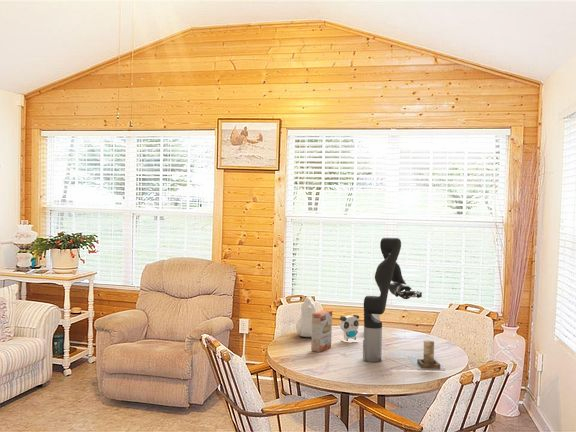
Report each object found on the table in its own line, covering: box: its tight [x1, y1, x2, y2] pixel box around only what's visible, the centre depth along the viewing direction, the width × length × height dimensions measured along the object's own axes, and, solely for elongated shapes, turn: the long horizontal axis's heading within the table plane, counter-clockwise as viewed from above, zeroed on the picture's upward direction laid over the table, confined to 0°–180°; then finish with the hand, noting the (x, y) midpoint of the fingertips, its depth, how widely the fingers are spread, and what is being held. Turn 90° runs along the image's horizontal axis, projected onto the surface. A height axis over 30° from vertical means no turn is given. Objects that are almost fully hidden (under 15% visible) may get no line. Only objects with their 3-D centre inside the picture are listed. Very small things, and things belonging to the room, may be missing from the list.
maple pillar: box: [423, 339, 435, 364], centre depth 268 cm, size 5×5×12 cm
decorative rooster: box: [295, 296, 317, 338], centre depth 332 cm, size 25×16×25 cm, turn 170°
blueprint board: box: [406, 355, 446, 371], centre depth 273 cm, size 14×22×1 cm, turn 1°
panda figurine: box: [339, 314, 360, 341], centre depth 319 cm, size 12×11×15 cm
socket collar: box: [417, 358, 441, 370], centre depth 267 cm, size 9×9×2 cm
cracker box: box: [310, 309, 333, 353], centre depth 299 cm, size 14×6×21 cm, turn 149°
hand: (411, 296), depth 289 cm, fingers open, 8 cm apart
